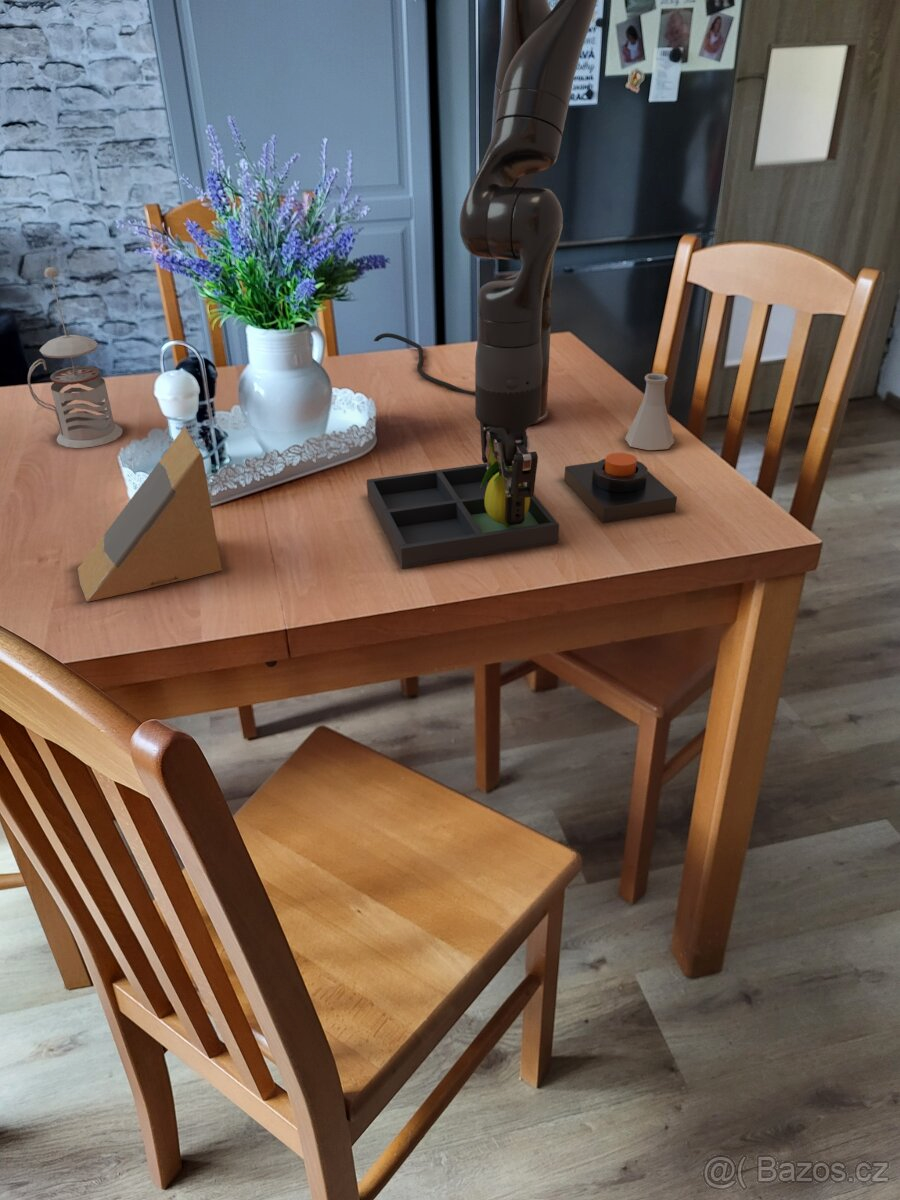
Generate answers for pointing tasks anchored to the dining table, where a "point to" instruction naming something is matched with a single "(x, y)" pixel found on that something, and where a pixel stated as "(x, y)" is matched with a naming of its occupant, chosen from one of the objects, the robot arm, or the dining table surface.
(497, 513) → the lemon
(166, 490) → the sandwich container
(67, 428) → the french press
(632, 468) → the button
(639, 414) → the flask
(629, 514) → the control box
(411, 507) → the tray
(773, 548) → the dining table surface
